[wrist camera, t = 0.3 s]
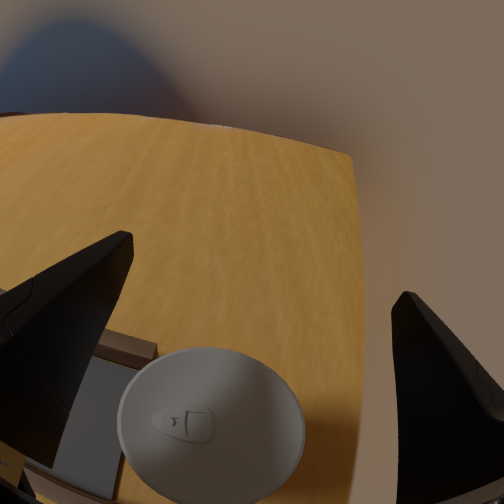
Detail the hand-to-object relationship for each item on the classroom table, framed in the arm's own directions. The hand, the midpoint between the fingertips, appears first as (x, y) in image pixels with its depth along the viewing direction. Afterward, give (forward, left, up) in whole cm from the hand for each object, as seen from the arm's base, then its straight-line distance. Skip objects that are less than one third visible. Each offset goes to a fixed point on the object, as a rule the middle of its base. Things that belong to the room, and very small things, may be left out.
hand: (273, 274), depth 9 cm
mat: (-3, +13, -17) cm, 22 cm away
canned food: (-3, +1, -17) cm, 17 cm away
